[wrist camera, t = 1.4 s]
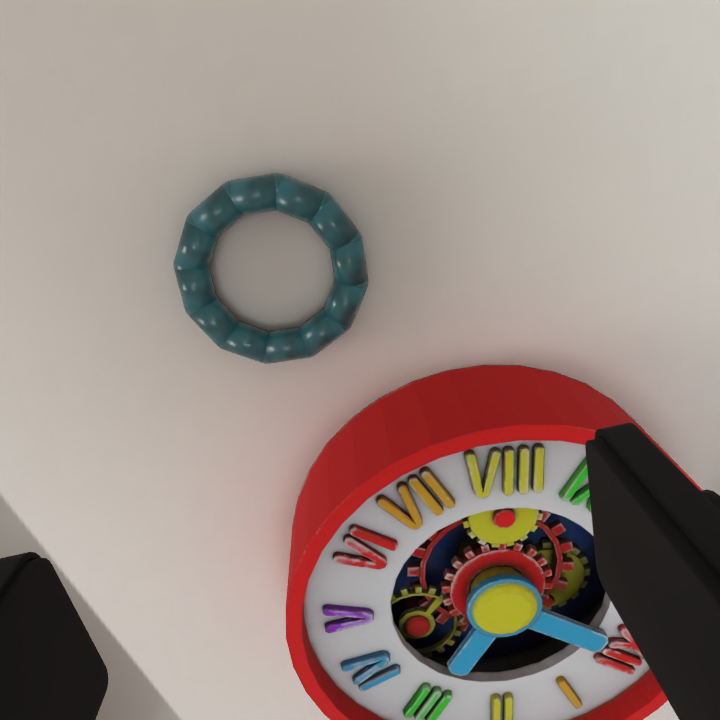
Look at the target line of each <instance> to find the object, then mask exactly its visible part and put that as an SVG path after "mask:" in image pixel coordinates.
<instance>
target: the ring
mask: <svg viewBox="0 0 720 720" xmlns="http://www.w3.org/2000/svg"><path fill="white" fill-rule="evenodd" d="M273 210H278V211H281V212H283V213H286V214H288V215H291V216H293V217H296V218H299V219H301V220H304V221H306V222H309V223H310V225H311V226H312V227H313V228H314V230H315V231H316V232H317V233H318V234H319V236H320V237H321V238H322V239H323V241H324V242H325V243H326V244H327V245H328V247H329V248H330V251H331V257H332V264H333V270H334V276H335V282H334V284H333V287H332V289H331V292H330V294H329V297H328V300H327V302H326V305H325V307H324V309H323V310H321V311H320V312H319V313H317V314H316V315H315V316H314V317H312V318H311V319H310V320H309V321H307V322H306V323H305V324H303V325H302V326H301V327H298V328H291V329H285V330H278V331H271V332H268V331H265V330H262V329H259V328H257V327H254V326H251V325H248V324H245V323H242V322H239V321H238V320H237V319H236V318H235V317H234V316H233V315H232V314H231V313H230V312H229V310H228V309H227V308H226V307H225V306H224V305H223V304H222V303H221V302H220V301H219V300H218V299H217V297H216V294H215V290H214V286H213V281H212V277H211V273H210V269H209V264H210V261H211V258H212V254H213V251H214V248H215V245H216V242H217V238H218V236H219V235H220V234H221V233H222V232H224V231H225V230H226V229H227V228H228V227H229V226H231V225H232V224H233V223H234V222H235V221H237V220H238V219H239V218H240V217H241V216H242V215H246V214H253V213H260V212H266V211H273ZM174 269H175V273H176V277H177V281H178V284H179V288H180V292H181V296H182V299H183V303H184V307H185V310H186V312H187V314H188V315H189V316H190V317H191V318H192V319H193V320H194V321H195V323H196V324H197V325H198V326H199V327H200V328H201V329H202V330H203V331H204V332H205V333H206V334H207V335H208V336H209V337H210V338H211V339H212V340H213V341H214V342H215V343H216V344H217V345H218V346H219V347H220V348H222V349H224V350H227V351H230V352H232V353H235V354H238V355H241V356H244V357H247V358H250V359H253V360H256V361H259V362H262V363H266V364H267V363H276V362H282V361H289V360H295V359H302V358H309V357H312V356H314V355H316V354H317V353H319V352H320V351H321V350H322V349H324V348H325V347H326V346H328V345H329V344H330V343H332V342H333V341H334V340H336V339H337V338H338V337H340V336H341V335H342V334H343V333H345V332H346V331H347V330H348V329H349V328H350V327H351V325H352V323H353V320H354V318H355V316H356V313H357V311H358V308H359V306H360V304H361V301H362V299H363V296H364V294H365V291H366V289H367V286H368V276H367V269H366V262H365V255H364V248H363V241H362V236H361V234H360V232H359V231H358V229H357V228H356V227H355V225H354V224H353V223H352V222H351V220H350V219H349V218H348V217H347V215H346V214H345V213H344V211H343V210H342V209H341V208H340V206H339V205H338V204H337V203H336V201H335V200H334V199H333V197H332V196H331V195H330V194H328V193H327V192H325V191H323V190H320V189H318V188H315V187H313V186H310V185H308V184H305V183H303V182H300V181H298V180H295V179H293V178H290V177H288V176H285V175H282V174H270V175H264V176H257V177H251V178H244V179H238V180H231V181H228V182H226V183H224V184H223V185H222V186H220V187H219V188H218V189H217V190H216V191H215V192H214V193H212V194H211V195H210V196H209V197H208V198H207V199H206V200H204V201H203V202H202V203H201V204H200V205H199V206H197V207H196V208H195V209H194V210H193V211H192V212H191V213H190V214H189V215H188V217H187V219H186V222H185V225H184V228H183V232H182V235H181V239H180V242H179V246H178V249H177V252H176V256H175V259H174Z"/></svg>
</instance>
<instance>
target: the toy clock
mask: <svg viewBox="0 0 720 720" xmlns="http://www.w3.org/2000/svg"><path fill="white" fill-rule="evenodd" d="M629 422H630V423H633V424H635V425H636V426H637V427H638V428H639V429H640V430H641V431H642V432H643V433H644V434H645V435H646V436H647V437H648V438H649V439H650V440H651V441H652V442H653V443H654V444H655V445H656V446H657V447H658V448H659V449H660V450H661V451H662V452H663V453H664V454H665V455H666V456H667V457H668V458H669V459H670V460H671V461H672V462H673V463H674V464H675V465H676V466H677V467H678V469H679V470H680V471H681V472H682V473H683V474H684V475H685V476H686V477H687V478H688V479H689V480H690V481H691V482H692V483H693V484H694V485H695V486H696V487H697V488H698V489H699V490H700V491H702V490H701V488H700V487H699V486H698V485H697V484H696V483H695V482H694V481H693V480H692V479H691V478H690V477H689V476H688V475H687V474H686V473H685V472H684V471H683V470H682V469H681V468H680V467H679V466H678V465H677V464H676V463H675V462H674V461H673V460H672V459H671V458H670V457H669V456H668V454H667V453H666V452H665V451H664V450H663V449H662V448H661V447H660V446H659V445H658V444H657V443H656V442H655V441H654V440H653V439H652V438H651V437H650V436H649V435H648V434H647V433H646V432H645V431H644V430H643V429H642V428H641V427H640V426H639V425H638V424H637V423H636V422H635V421H634V420H633V419H632V418H631V417H630V416H629V415H628V414H627V413H626V412H625V411H624V410H623V409H622V408H621V407H619V406H618V405H617V404H616V403H615V402H614V401H613V400H612V399H610V398H608V397H607V396H605V395H603V394H602V393H600V392H599V391H597V390H595V389H594V388H592V387H590V386H589V385H587V384H585V383H583V382H580V381H577V380H575V379H572V378H569V377H566V376H564V375H561V374H558V373H556V372H552V371H546V370H541V369H535V368H530V367H524V366H501V365H482V366H476V367H469V368H462V369H456V370H449V371H445V372H442V373H439V374H435V375H432V376H429V377H426V378H423V379H420V380H416V381H413V382H411V383H409V384H407V385H405V386H403V387H401V388H399V389H397V390H395V391H393V392H391V393H389V394H387V395H385V396H383V397H381V398H379V399H378V400H376V401H375V402H374V403H372V404H371V405H369V406H368V407H367V408H365V409H364V410H363V411H361V412H360V413H358V414H357V415H356V416H354V417H353V418H352V419H350V420H349V422H348V423H347V424H346V425H345V426H344V427H343V428H342V429H341V430H340V431H339V432H338V433H337V434H336V435H335V436H334V437H333V438H332V439H331V440H330V441H329V442H328V443H327V445H326V446H325V448H324V449H323V450H322V452H321V453H320V455H319V456H318V458H317V459H316V461H315V462H314V464H313V465H312V467H311V468H310V470H309V473H308V475H307V477H306V480H305V482H304V484H303V487H302V489H301V491H300V494H299V496H298V501H297V506H296V510H295V515H294V520H293V527H292V540H291V552H290V564H289V577H288V589H287V601H286V639H287V643H288V647H289V651H290V655H291V659H292V663H293V667H294V669H295V671H296V673H297V675H298V677H299V679H300V681H301V683H302V685H303V687H304V689H305V691H306V692H307V694H308V695H309V696H310V697H311V699H312V700H313V701H314V702H315V703H316V705H317V706H318V707H319V708H320V710H321V711H322V712H323V713H324V715H326V716H327V717H328V718H329V719H330V720H643V719H644V718H646V717H647V716H649V715H650V714H651V713H653V712H654V711H656V710H657V709H658V708H660V707H661V706H662V705H663V704H664V703H665V702H666V701H667V700H668V699H667V697H666V695H665V694H664V692H663V690H662V689H661V687H660V685H659V683H658V682H657V680H656V678H655V676H654V675H653V673H652V671H651V670H650V668H649V666H648V664H647V663H646V661H645V659H644V657H643V656H642V654H641V652H640V650H639V649H638V647H637V645H636V644H635V642H634V640H633V638H632V637H631V635H630V633H629V631H628V630H627V628H626V626H625V624H624V623H623V621H622V619H621V618H620V616H619V614H618V612H617V611H616V609H615V607H614V605H613V604H612V602H611V600H610V598H609V597H608V595H607V593H606V592H605V590H604V588H603V586H602V584H601V581H600V578H599V575H598V572H597V567H596V558H595V547H594V536H593V526H592V515H591V504H590V493H589V483H588V472H587V461H586V450H585V444H586V441H587V440H592V439H595V431H596V430H597V429H601V428H606V427H610V426H615V425H620V424H624V423H629Z"/></svg>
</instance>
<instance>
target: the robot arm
mask: <svg viewBox="0 0 720 720" xmlns="http://www.w3.org/2000/svg"><path fill="white" fill-rule="evenodd" d="M585 450H586V461H587V472H588V483H589V493H590V504H591V515H592V526H593V536H594V547H595V558H596V567H597V572H598V575H599V578H600V581H601V584H602V586H603V588H604V590H605V592H606V593H607V595H608V597H609V598H610V600H611V602H612V604H613V605H614V607H615V609H616V611H617V612H618V614H619V616H620V618H621V619H622V621H623V623H624V624H625V626H626V628H627V630H628V631H629V633H630V635H631V637H632V638H633V640H634V642H635V644H636V645H637V647H638V649H639V650H640V652H641V654H642V656H643V657H644V659H645V661H646V663H647V664H648V666H649V668H650V670H651V671H652V673H653V675H654V676H655V678H656V680H657V682H658V683H659V685H660V687H661V689H662V690H663V692H664V694H665V695H666V697H667V699H668V701H669V702H670V704H671V706H672V708H673V709H674V711H675V713H676V715H677V716H678V718H679V720H720V496H719V495H718V494H716V493H715V492H714V491H710V490H703V491H700V490H699V489H698V488H697V487H696V486H695V485H694V484H693V483H692V482H691V481H690V480H689V479H688V478H687V477H686V476H685V475H684V474H683V473H682V472H681V471H680V470H679V469H678V467H677V466H676V465H675V464H674V463H673V462H672V461H671V460H670V459H669V458H668V457H667V456H666V455H665V454H664V453H663V452H662V451H661V450H660V449H659V448H658V447H657V446H656V445H655V444H654V443H653V442H652V441H651V440H650V439H649V438H648V437H647V436H646V435H645V434H644V433H643V432H642V431H641V430H640V429H639V428H638V427H637V426H636V425H635V424H633V423H630V422H629V423H624V424H620V425H615V426H610V427H606V428H601V429H597V430H596V431H595V439H592V440H587V441H586V444H585ZM107 686H108V673H107V669H106V666H105V664H104V663H103V660H102V658H101V656H100V655H99V653H98V651H97V649H96V647H95V645H94V643H93V642H92V640H91V638H90V636H89V634H88V632H87V630H86V628H85V626H84V624H83V622H82V621H81V619H80V617H79V615H78V613H77V611H76V609H75V608H74V606H73V604H72V602H71V600H70V598H69V596H68V594H67V592H66V590H65V588H64V586H63V585H62V583H61V581H60V579H59V577H58V575H57V573H56V571H55V570H54V568H53V566H52V564H51V563H50V561H49V560H47V559H46V558H41V557H40V556H39V555H38V554H36V553H33V552H28V553H23V554H19V555H14V556H10V557H5V558H1V559H0V720H95V719H96V716H97V714H98V711H99V708H100V706H101V703H102V701H103V698H104V696H105V693H106V690H107Z"/></svg>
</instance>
